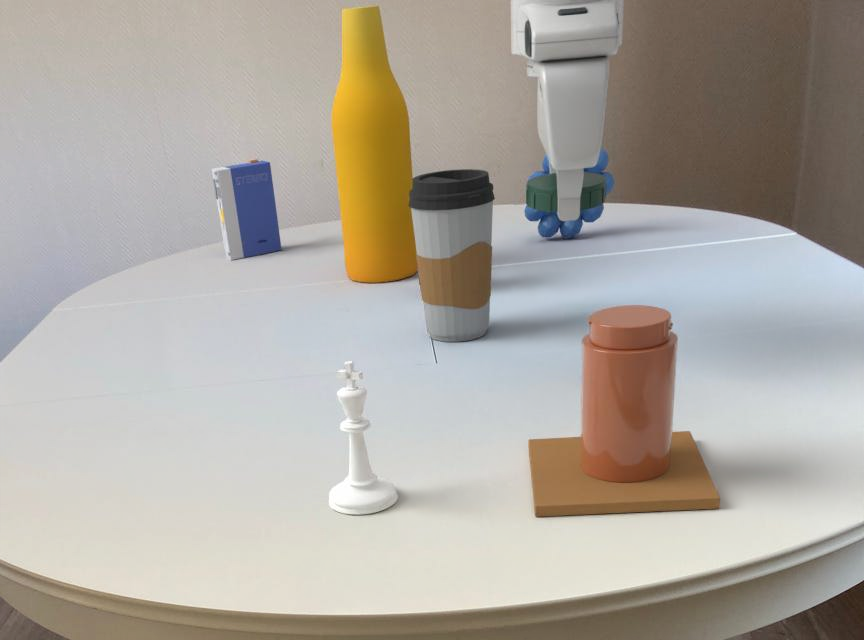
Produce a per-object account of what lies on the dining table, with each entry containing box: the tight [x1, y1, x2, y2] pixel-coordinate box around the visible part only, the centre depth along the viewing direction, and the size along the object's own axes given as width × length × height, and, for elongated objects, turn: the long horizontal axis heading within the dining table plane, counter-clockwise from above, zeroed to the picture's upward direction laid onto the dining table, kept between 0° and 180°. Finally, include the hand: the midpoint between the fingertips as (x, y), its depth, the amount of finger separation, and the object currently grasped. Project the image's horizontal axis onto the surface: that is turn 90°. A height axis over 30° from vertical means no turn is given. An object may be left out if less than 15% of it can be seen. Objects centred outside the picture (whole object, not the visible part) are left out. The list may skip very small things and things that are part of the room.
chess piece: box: [328, 360, 399, 516], centre depth 73 cm, size 5×5×10 cm
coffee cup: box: [409, 168, 496, 343], centre depth 104 cm, size 8×8×15 cm
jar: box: [580, 304, 679, 483], centre depth 72 cm, size 6×6×10 cm
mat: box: [527, 430, 721, 518], centre depth 75 cm, size 12×12×1 cm
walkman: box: [211, 158, 283, 261], centre depth 147 cm, size 8×3×12 cm, turn 117°
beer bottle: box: [330, 5, 418, 284], centre depth 126 cm, size 9×9×29 cm
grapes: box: [524, 148, 615, 239], centre depth 139 cm, size 12×7×12 cm, turn 88°
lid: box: [525, 172, 607, 212], centre depth 91 cm, size 7×7×2 cm
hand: (564, 210), depth 91 cm, fingers closed on lid, 6 cm apart
